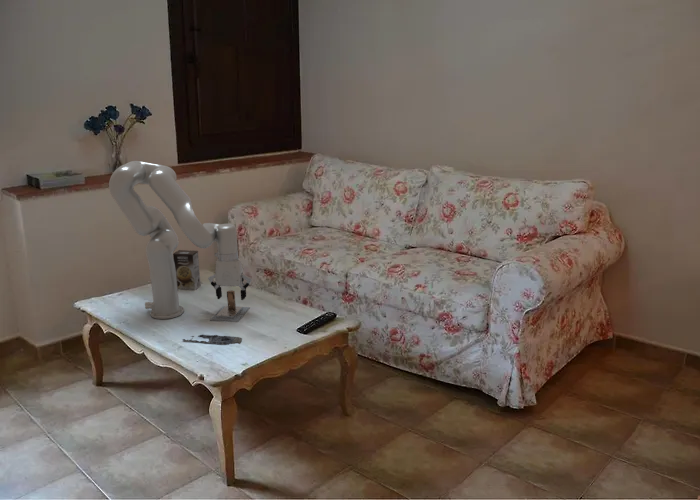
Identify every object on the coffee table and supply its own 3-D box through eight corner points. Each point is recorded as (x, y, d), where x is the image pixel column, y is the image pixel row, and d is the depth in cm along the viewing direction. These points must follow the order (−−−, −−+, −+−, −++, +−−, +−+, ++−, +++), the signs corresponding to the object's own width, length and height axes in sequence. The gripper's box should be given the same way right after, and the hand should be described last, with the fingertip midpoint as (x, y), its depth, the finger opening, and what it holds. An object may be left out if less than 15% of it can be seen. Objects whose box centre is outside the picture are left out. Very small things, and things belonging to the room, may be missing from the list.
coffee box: (175, 289, 279) (172, 253, 275) (181, 284, 286) (178, 249, 281) (195, 290, 278) (192, 254, 273) (201, 285, 284) (198, 250, 280)
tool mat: (210, 320, 245) (210, 319, 245) (223, 307, 258) (223, 306, 258) (237, 321, 243) (237, 320, 243) (249, 308, 256) (249, 307, 256)
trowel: (216, 317, 246) (214, 298, 244) (225, 308, 256) (224, 289, 253) (233, 318, 245) (232, 298, 243) (242, 309, 254) (241, 289, 252)
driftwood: (245, 340, 228) (244, 334, 228) (237, 348, 222) (236, 342, 221) (191, 336, 233) (191, 331, 233) (182, 344, 227) (182, 338, 226)
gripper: (202, 258, 244) (206, 301, 249) (246, 259, 241) (249, 302, 246) (210, 252, 251) (213, 294, 256) (253, 254, 249) (255, 295, 253)
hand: (231, 298), depth 251 cm, fingers open, 9 cm apart
